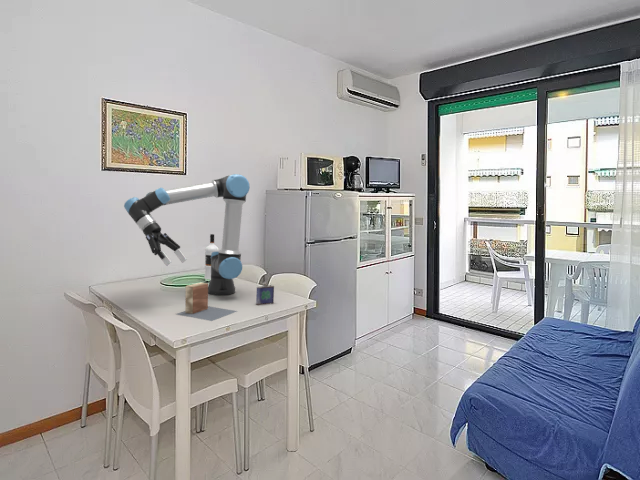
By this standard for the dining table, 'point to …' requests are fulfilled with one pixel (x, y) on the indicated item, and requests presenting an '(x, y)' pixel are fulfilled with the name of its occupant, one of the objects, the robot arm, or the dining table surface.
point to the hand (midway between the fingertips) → (177, 262)
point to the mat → (209, 313)
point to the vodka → (209, 256)
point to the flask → (265, 294)
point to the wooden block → (196, 298)
